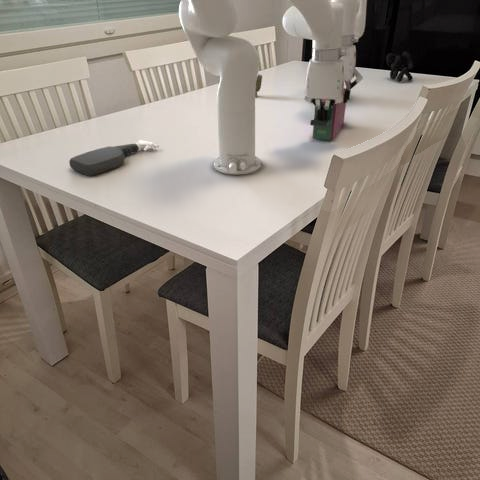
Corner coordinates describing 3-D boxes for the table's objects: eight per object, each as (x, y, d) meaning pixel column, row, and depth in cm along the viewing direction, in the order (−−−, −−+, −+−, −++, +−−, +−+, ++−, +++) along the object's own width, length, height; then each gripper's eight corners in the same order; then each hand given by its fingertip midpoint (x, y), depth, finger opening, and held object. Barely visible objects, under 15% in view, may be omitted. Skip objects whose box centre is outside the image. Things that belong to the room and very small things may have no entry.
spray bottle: (67, 168, 120) (139, 144, 136) (91, 178, 114) (163, 151, 130) (65, 157, 118) (137, 134, 134) (89, 167, 112) (162, 142, 128)
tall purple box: (332, 140, 135) (336, 102, 129) (312, 138, 137) (315, 100, 131) (343, 123, 149) (347, 88, 143) (325, 121, 151) (328, 86, 145)
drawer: (325, 146, 129) (328, 112, 124) (308, 143, 131) (310, 111, 125) (340, 123, 146) (343, 93, 141) (324, 121, 148) (327, 92, 143)
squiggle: (400, 92, 202) (376, 71, 205) (417, 76, 202) (392, 56, 205) (405, 81, 191) (380, 59, 194) (423, 64, 191) (397, 42, 194)
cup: (240, 97, 179) (240, 76, 175) (248, 93, 185) (248, 72, 181) (257, 99, 176) (257, 78, 172) (265, 94, 182) (265, 74, 178)
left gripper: (356, 52, 120) (350, 119, 130) (302, 51, 124) (300, 116, 134) (352, 58, 114) (346, 128, 124) (295, 57, 119) (294, 124, 129)
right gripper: (371, 40, 134) (363, 100, 144) (315, 38, 140) (311, 96, 149) (368, 43, 128) (360, 106, 138) (309, 41, 134) (305, 101, 143)
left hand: (322, 121), depth 129 cm, fingers closed
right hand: (334, 100), depth 143 cm, fingers closed on tall purple box, 6 cm apart
